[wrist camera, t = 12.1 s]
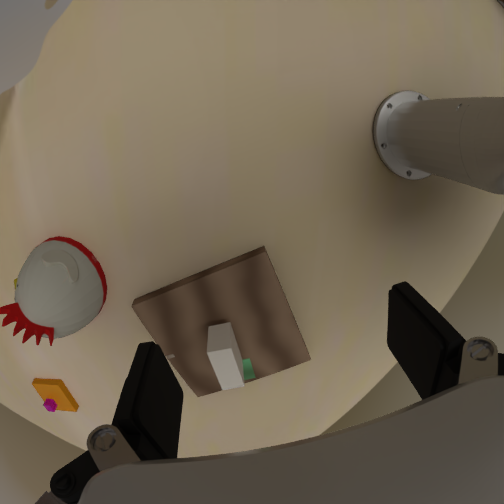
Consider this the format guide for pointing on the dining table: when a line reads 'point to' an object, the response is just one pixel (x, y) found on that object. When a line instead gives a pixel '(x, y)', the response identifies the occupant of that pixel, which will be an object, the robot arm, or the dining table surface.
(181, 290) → the dial board
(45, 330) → the chicken figurine
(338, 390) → the dining table surface
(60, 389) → the orange block with cube
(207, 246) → the dining table surface
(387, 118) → the robot arm
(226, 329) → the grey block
